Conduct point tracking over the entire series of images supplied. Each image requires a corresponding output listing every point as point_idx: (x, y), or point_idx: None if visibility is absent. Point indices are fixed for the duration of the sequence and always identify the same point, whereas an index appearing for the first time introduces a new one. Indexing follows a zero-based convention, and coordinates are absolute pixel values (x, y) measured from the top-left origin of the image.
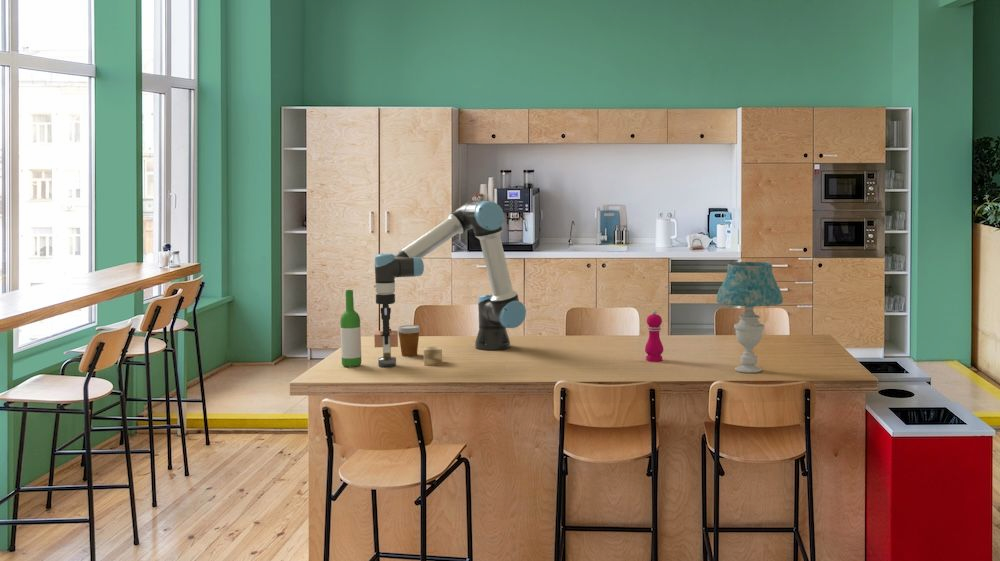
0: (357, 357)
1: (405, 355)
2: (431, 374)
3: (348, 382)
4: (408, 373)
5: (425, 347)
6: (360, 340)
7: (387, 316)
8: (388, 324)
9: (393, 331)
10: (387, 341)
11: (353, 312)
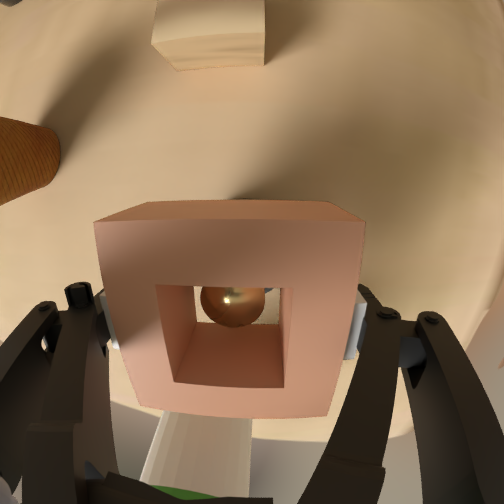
0: None
1: (55, 169)
2: (451, 83)
3: (464, 348)
4: (430, 159)
5: (169, 31)
6: (206, 426)
7: (499, 473)
8: (475, 384)
9: (155, 269)
10: (372, 299)
11: None
